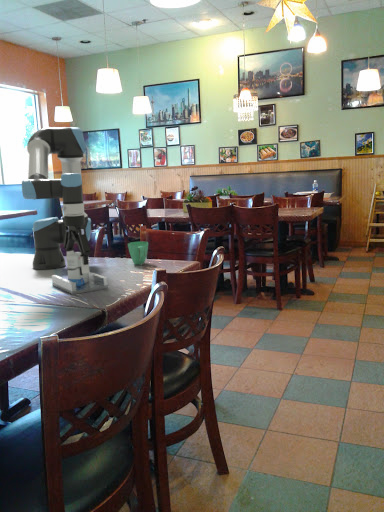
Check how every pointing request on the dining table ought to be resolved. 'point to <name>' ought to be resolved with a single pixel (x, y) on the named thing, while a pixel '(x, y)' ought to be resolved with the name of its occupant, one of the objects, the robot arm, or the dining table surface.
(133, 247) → the mug
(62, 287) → the whitish low flat box
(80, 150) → the robot arm
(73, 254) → the ink box
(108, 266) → the dining table surface
